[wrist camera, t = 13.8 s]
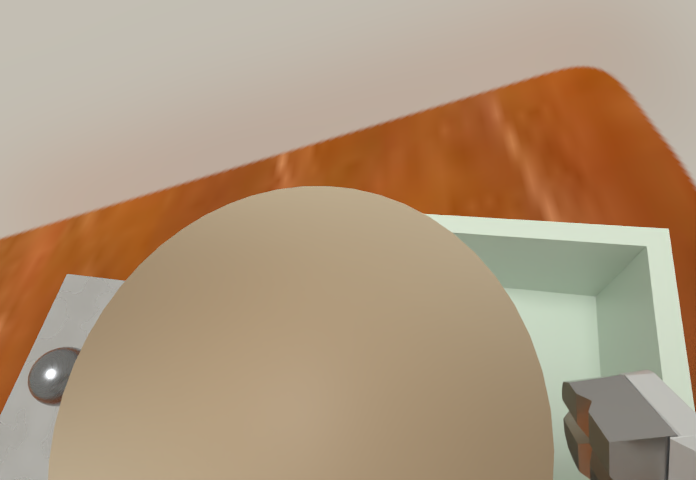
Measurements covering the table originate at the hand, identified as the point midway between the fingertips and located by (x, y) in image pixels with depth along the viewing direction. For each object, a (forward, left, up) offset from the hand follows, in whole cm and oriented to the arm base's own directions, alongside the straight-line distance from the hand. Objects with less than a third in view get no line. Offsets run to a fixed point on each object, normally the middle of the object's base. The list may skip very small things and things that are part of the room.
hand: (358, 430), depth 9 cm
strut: (0, 0, -13) cm, 13 cm away
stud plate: (0, +17, -14) cm, 22 cm away
